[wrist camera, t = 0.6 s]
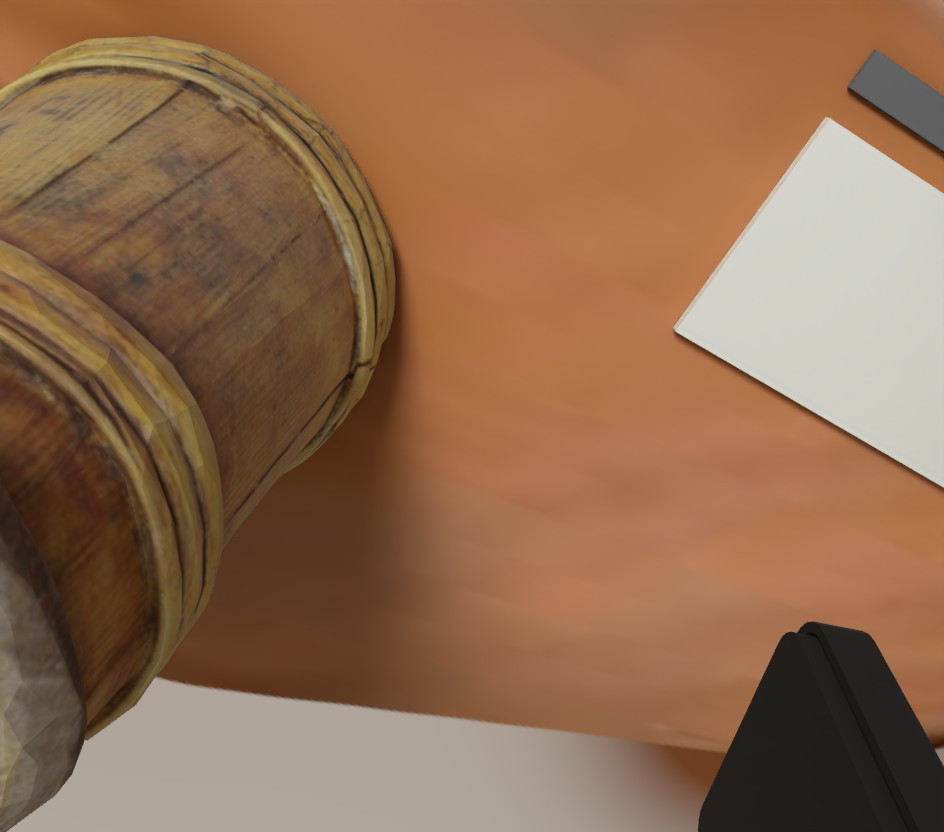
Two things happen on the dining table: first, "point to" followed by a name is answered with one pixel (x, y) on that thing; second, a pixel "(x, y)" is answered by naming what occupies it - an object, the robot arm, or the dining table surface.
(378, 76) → the dining table surface
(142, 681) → the tankard
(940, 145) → the white tile with strip
